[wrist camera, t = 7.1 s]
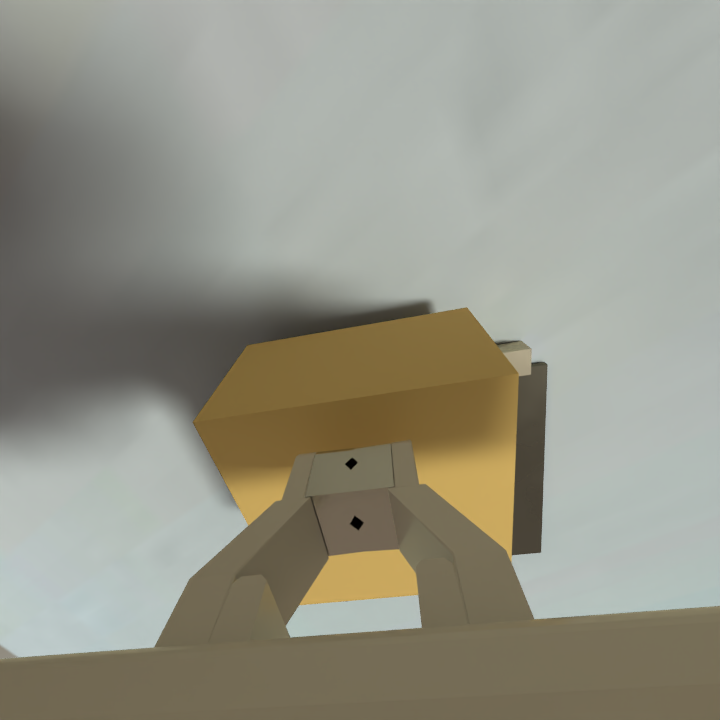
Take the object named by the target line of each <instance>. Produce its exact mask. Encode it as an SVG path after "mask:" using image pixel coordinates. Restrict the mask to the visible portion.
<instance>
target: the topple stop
mask: <svg viewBox="0 0 720 720" xmlns="http://www.w3.org/2000/svg"><path fill="white" fill-rule="evenodd" d="M497 346H498V348H499V349H500V350H501V351H502V353H503V354H504V355H505V356H506V358H507V359H508V360H509V362H510V363H511V364H512V365H513V367H514V368H515V369H516V370H517V372H518V373H519V384H518V409H517V434H516V459H515V483H514V508H513V533H512V555H519V554H530V553H541V535H542V506H543V477H544V448H545V418H546V389H547V364H546V363H545V362H541V363H534V364H531V348H530V347H529V346H527V345H526V344H525V343H524V342H522V341H517V342H511V343H504V344H498V345H497Z"/></svg>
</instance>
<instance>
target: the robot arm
mask: <svg viewBox="0 0 720 720" xmlns="http://www.w3.org/2000/svg"><path fill="white" fill-rule="evenodd" d="M396 549H399V550H400V552H401V553H402V555H403V556H404V558H405V559H406V560H407V562H408V563H409V565H410V566H411V567H412V569H413V570H414V572H415V573H416V577H417V587H418V596H419V605H420V614H421V623H422V628H415V629H402V630H388V631H375V632H361V633H347V634H333V635H319V636H306V637H292V638H290V636H289V633H288V631H287V628H286V625H287V623H288V621H289V620H290V618H291V617H292V615H293V614H294V612H295V611H296V609H297V607H298V606H299V604H300V603H301V601H302V600H303V598H304V597H305V595H306V593H307V592H308V590H309V589H310V587H311V586H312V584H313V582H314V581H315V579H316V578H317V576H318V575H319V573H320V572H321V570H322V568H323V567H324V565H325V564H326V562H327V561H328V559H329V557H328V556H334V555H342V554H349V553H357V552H366V551H381V550H396ZM0 720H720V606H712V607H699V608H685V609H671V610H658V611H644V612H630V613H617V614H603V615H589V616H576V617H562V618H548V619H534V617H533V615H532V612H531V610H530V607H529V605H528V602H527V600H526V598H525V595H524V593H523V590H522V588H521V585H520V583H519V580H518V578H517V576H516V573H515V571H514V568H513V566H512V563H511V561H510V558H509V556H508V554H507V551H506V550H505V549H504V548H503V547H502V546H500V545H499V544H498V543H497V542H496V541H494V540H493V539H492V538H491V537H489V536H488V535H487V534H486V533H485V532H483V531H482V530H481V529H480V528H479V527H477V526H476V525H475V524H474V523H472V522H471V521H470V520H469V519H468V518H466V517H465V516H464V515H463V514H462V513H460V512H459V511H458V510H457V509H455V508H454V507H453V506H452V505H451V504H449V503H448V502H447V501H446V500H445V499H443V498H442V497H441V496H440V495H438V494H437V493H436V492H435V491H434V490H432V489H431V488H430V487H429V486H428V485H426V484H419V480H418V474H417V469H416V463H415V458H414V452H413V446H412V441H411V440H405V441H399V442H393V443H390V444H383V445H375V446H368V447H361V448H350V449H340V450H331V451H322V452H317V453H316V452H313V453H305V454H299V455H298V456H296V458H295V461H294V464H293V467H292V470H291V473H290V476H289V479H288V482H287V485H286V488H285V491H284V494H283V497H282V500H281V501H275V502H274V503H273V504H272V505H271V506H270V507H269V508H268V509H266V510H265V511H264V512H263V513H262V514H261V515H260V516H259V517H258V518H257V519H255V520H254V521H253V522H252V523H251V524H250V525H249V526H248V527H247V528H245V529H244V530H243V531H242V532H241V533H240V534H239V535H238V536H237V537H236V538H234V539H233V540H232V541H231V542H230V543H229V544H228V545H227V546H226V547H224V548H223V549H222V550H221V551H220V552H219V553H218V554H217V555H216V556H215V557H213V558H212V559H211V560H210V561H209V562H208V563H207V564H206V565H205V566H203V567H202V568H201V569H200V570H199V571H198V572H197V573H196V574H195V575H194V576H192V577H191V578H190V579H189V581H188V583H187V585H186V587H185V589H184V591H183V593H182V595H181V597H180V599H179V600H178V602H177V604H176V606H175V608H174V610H173V612H172V614H171V616H170V618H169V620H168V622H167V624H166V626H165V628H164V629H163V631H162V633H161V635H160V637H159V639H158V641H157V643H156V645H155V647H154V648H141V649H127V650H114V651H100V652H87V653H73V654H59V655H46V656H32V657H18V658H5V659H0Z"/></svg>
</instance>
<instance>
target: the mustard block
mask: <svg viewBox="0 0 720 720" xmlns="http://www.w3.org/2000/svg"><path fill="white" fill-rule="evenodd" d="M518 384H519V373H518V372H517V370H516V369H515V368H514V367H513V365H512V364H511V363H510V362H509V360H508V359H507V358H506V356H505V355H504V354H503V353H502V351H501V350H500V349H499V348H498V346H497V345H496V344H495V342H494V341H493V340H492V339H491V337H490V336H489V335H488V334H487V332H486V331H485V330H484V328H483V327H482V326H481V325H480V323H479V322H478V321H477V320H476V318H475V317H474V316H473V314H472V313H471V312H470V311H469V309H468V308H461V309H455V310H449V311H444V312H438V313H432V314H426V315H420V316H414V317H409V318H403V319H397V320H391V321H385V322H380V323H374V324H368V325H362V326H356V327H350V328H345V329H339V330H333V331H327V332H321V333H315V334H310V335H304V336H298V337H292V338H286V339H280V340H275V341H269V342H263V343H257V344H251V345H247V346H246V348H245V349H244V351H243V352H242V353H241V355H240V356H239V358H238V359H237V360H236V362H235V363H234V365H233V366H232V368H231V369H230V370H229V372H228V373H227V375H226V376H225V377H224V379H223V380H222V382H221V383H220V384H219V386H218V387H217V389H216V390H215V391H214V393H213V394H212V396H211V397H210V399H209V400H208V401H207V403H206V404H205V406H204V407H203V408H202V410H201V411H200V413H199V414H198V415H197V417H196V418H195V420H194V421H193V424H194V426H195V428H196V429H197V431H198V433H199V435H200V437H201V439H202V440H203V442H204V444H205V446H206V448H207V450H208V452H209V453H210V455H211V457H212V459H213V461H214V463H215V464H216V466H217V468H218V470H219V472H220V474H221V476H222V477H223V479H224V481H225V483H226V485H227V487H228V488H229V490H230V492H231V494H232V496H233V498H234V500H235V501H236V503H237V505H238V507H239V509H240V511H241V512H242V514H243V516H244V518H245V520H246V522H247V524H248V525H250V524H251V523H252V522H253V521H254V520H255V519H257V518H258V517H259V516H260V515H261V514H262V513H263V512H264V511H265V510H266V509H268V508H269V507H270V506H271V505H272V504H273V503H274V502H275V501H281V500H282V497H283V494H284V491H285V488H286V485H287V482H288V479H289V476H290V473H291V470H292V467H293V464H294V461H295V458H296V456H298V455H299V454H305V453H313V452H316V453H317V452H322V451H331V450H340V449H350V448H361V447H368V446H375V445H383V444H390V443H393V442H399V441H405V440H411V441H412V446H413V452H414V458H415V463H416V469H417V474H418V480H419V484H426V485H428V486H429V487H430V488H431V489H432V490H434V491H435V492H436V493H437V494H438V495H440V496H441V497H442V498H443V499H445V500H446V501H447V502H448V503H449V504H451V505H452V506H453V507H454V508H455V509H457V510H458V511H459V512H460V513H462V514H463V515H464V516H465V517H466V518H468V519H469V520H470V521H471V522H472V523H474V524H475V525H476V526H477V527H479V528H480V529H481V530H482V531H483V532H485V533H486V534H487V535H488V536H489V537H491V538H492V539H493V540H494V541H496V542H497V543H498V544H499V545H500V546H502V547H503V548H504V549H505V550H506V551H507V554H508V556H509V558H510V561H511V558H512V533H513V508H514V483H515V459H516V434H517V409H518ZM328 557H329V559H328V561H327V562H326V564H325V565H324V567H323V568H322V570H321V572H320V573H319V575H318V576H317V578H316V579H315V581H314V582H313V584H312V586H311V587H310V589H309V590H308V592H307V593H306V595H305V597H304V598H303V600H302V601H301V603H300V604H299V605H306V604H318V603H329V602H341V601H352V600H364V599H376V598H387V597H399V596H411V595H418V587H417V577H416V573H415V572H414V570H413V569H412V567H411V566H410V565H409V563H408V562H407V560H406V559H405V558H404V556H403V555H402V553H401V552H400V550H399V549H396V550H381V551H366V552H357V553H349V554H342V555H334V556H328Z"/></svg>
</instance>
